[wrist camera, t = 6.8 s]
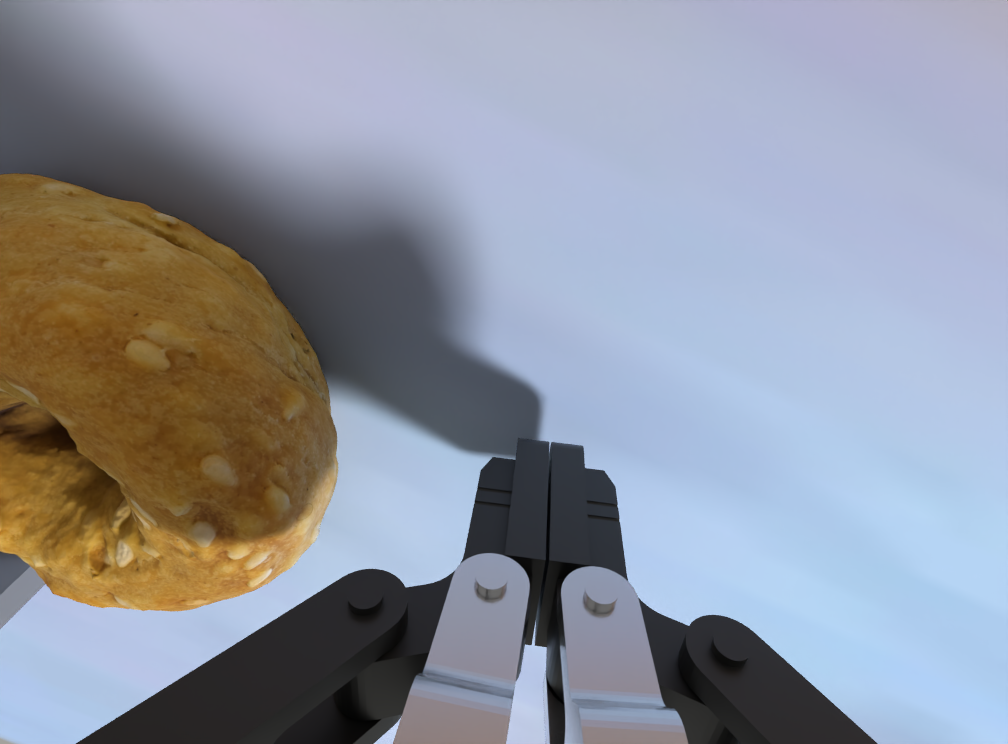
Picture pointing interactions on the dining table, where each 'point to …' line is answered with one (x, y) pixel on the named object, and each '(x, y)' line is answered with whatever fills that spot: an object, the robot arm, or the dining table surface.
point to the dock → (16, 585)
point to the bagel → (150, 406)
